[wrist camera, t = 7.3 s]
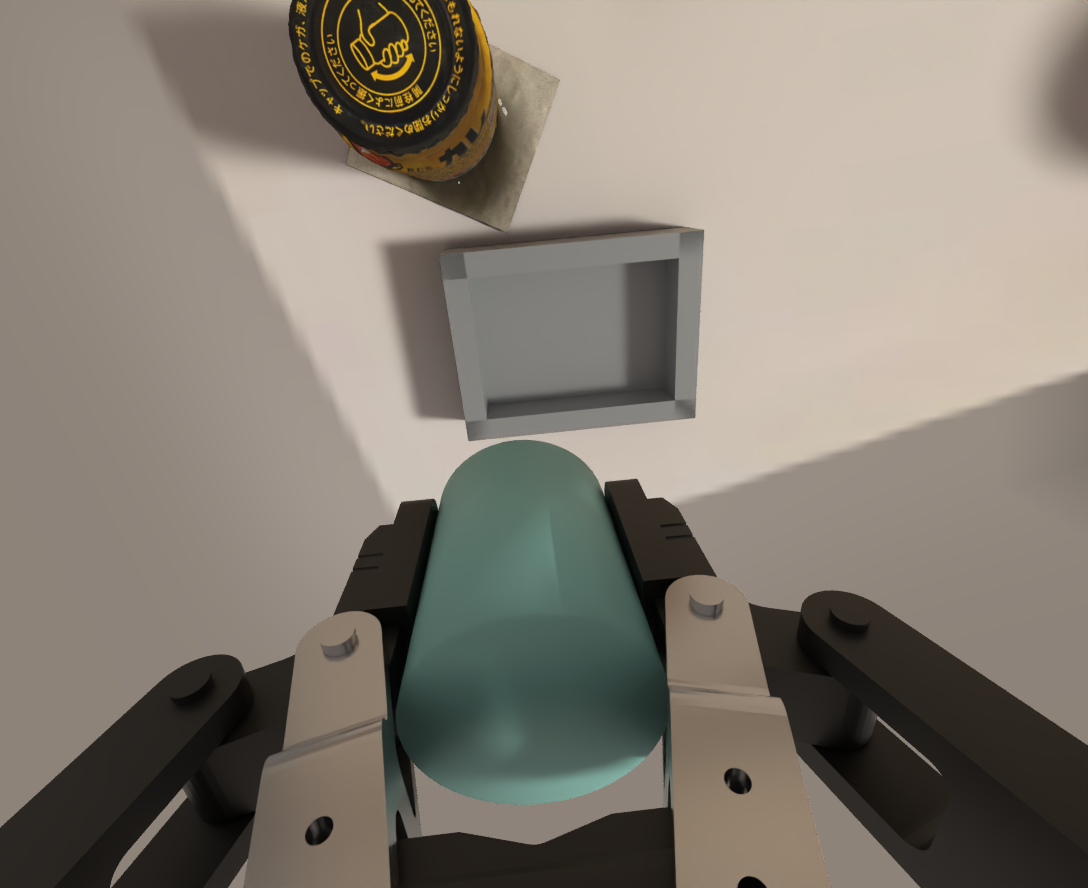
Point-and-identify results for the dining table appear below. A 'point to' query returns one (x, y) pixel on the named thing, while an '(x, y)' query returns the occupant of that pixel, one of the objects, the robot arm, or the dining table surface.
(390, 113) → the condiment
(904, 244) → the dining table surface
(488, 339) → the collection tray
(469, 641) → the teal cylinder
